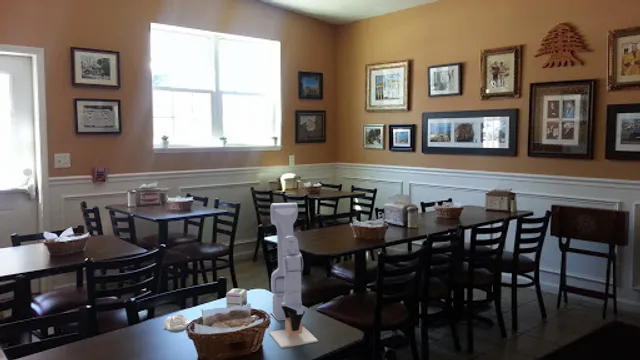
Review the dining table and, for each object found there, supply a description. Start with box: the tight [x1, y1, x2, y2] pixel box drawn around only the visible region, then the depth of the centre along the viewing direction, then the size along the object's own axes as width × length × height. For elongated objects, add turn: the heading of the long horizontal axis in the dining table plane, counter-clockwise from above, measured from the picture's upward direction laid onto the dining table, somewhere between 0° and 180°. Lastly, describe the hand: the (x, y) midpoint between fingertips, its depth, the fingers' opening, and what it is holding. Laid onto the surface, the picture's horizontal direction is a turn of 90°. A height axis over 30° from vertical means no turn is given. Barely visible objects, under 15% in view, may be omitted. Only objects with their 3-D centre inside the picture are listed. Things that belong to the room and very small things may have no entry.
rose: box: [163, 313, 192, 332], centre depth 186 cm, size 10×4×10 cm
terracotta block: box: [284, 317, 303, 335], centre depth 175 cm, size 4×4×4 cm
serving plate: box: [268, 325, 319, 349], centre depth 176 cm, size 13×13×1 cm
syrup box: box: [225, 288, 248, 309], centre depth 181 cm, size 6×6×14 cm
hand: (292, 327), depth 175 cm, fingers closed on terracotta block, 4 cm apart
